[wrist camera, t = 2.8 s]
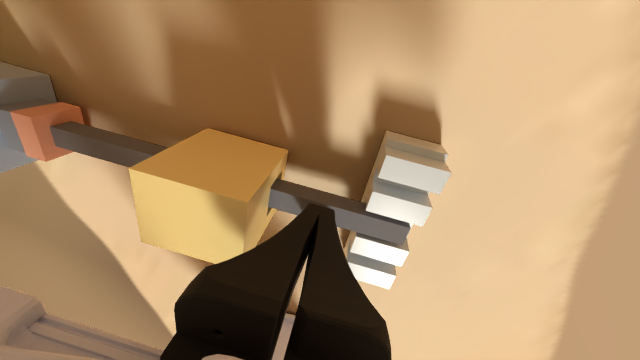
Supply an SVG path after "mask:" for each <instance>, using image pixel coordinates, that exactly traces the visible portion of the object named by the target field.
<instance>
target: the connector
mask: <svg viewBox="0 0 640 360" xmlns="http://www.w3.org/2000/svg"><path fill="white" fill-rule="evenodd" d="M53 103H57V100H56V97H55V93H54V90H53V87H52V83H51V80H50V76H49V75H48V74H44V73H41V72H37V71H33V70H29V69H26V68H22V67H18V66H15V65H11V64H7V63H4V62H0V173H2V172H5V171H8V170H11V169H14V168H17V167H19V166H22V165H25V164H28V163H31V162H34V161H37V160H39V159H35V158H32V157H28V156H27V155H26V153H25V150H24V147H23V145H22V142H21V140H20V137H19V135H18V132H17V129H16V127H15V124H14V122H13V119H12V117H11V114H10V111H15V110H21V109H26V108H31V107H37V106H42V105H48V104H53Z"/></svg>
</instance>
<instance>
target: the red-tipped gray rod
mask: <svg viewBox="0 0 640 360" xmlns="http://www.w3.org/2000/svg"><path fill="white" fill-rule="evenodd" d="M10 114H11V117H12V119H13V122H14V124H15V127H16V129H17V132H18V135H19V137H20V140H21V142H22V145H23V147H24V150H25V153H26V155H27V156H28V157H32V158H35V159H39V160H42V161H49V160H52V159H55V158H58V157H60V156H63V155H66V154H69V153H72V152H78V153H81V154H85V155H88V156H92V157H95V158H99V159H102V160H106V161H109V162H113V163H116V164H120V165H123V166H127V167H132V166H134V165H136V164H138V163H140V162H142V161H144V160H146V159H148V158H150V157H152V156H154V155H156V154H158V153H160V152H162V151H164V150H166V149H167V148H166V147H163V146H159V145H156V144H152V143H148V142H145V141H141V140H138V139H134V138H131V137H127V136H123V135H120V134H116V133H113V132H109V131H106V130H102V129H98V128H95V127H91V126H88V125H84V121H83V117H82V113H81V109H80V107H79V106H75V105H71V104H68V103H64V102H59V103H53V104H48V105H42V106H37V107H31V108H26V109H21V110H15V111H10ZM309 203H313V204H316V205H320V206H323V207H327V208H330V209H334V211H335V221H336V226H337V227H340V228H344V229H347V230H351V231H354V232H358V233H361V234H365V235H368V236H372V237H375V238H379V239H382V240H386V241H389V242H393V243H396V244H400V245H403V243H404V241H405V239H406V237H407V235H408V233H409V231H410V229H411V227H410V223H408V222H404V221H401V220H397V219H393V218H390V217H386V216H383V215H379V214H376V213H372V212H369V211H366V203H363V202H359V201H356V200H352V199H349V198H345V197H342V196H338V195H334V194H331V193H327V192H324V191H320V190H317V189H313V188H309V187H306V186H302V185H299V184H295V183H292V182H288V181H284V180H281V179H276V180H275V181H274V183H273V184H272V186H271V189H270V196H269V203H268V207H270V208H274V209H277V210H281V211H284V212H288V213H291V214H295V215H299V214H300V213H301V212H302V211H303V210H304V208H305V207H306V206H307V204H309Z"/></svg>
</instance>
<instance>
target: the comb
mask: <svg viewBox="0 0 640 360" xmlns="http://www.w3.org/2000/svg"><path fill="white" fill-rule="evenodd" d="M447 157H448V153H447V152H446V151H445V149H444V148H443V146H442V145H440V144H436V143H432V142H429V141H425V140H421V139H417V138H413V137H410V136H406V135H402V134H398V133H394V132H391V131H387V130H386V133H385V135H384V138H383V141H382V144H381V147H380V149H379V152H378V155H377V158H376V160H375V163H374V166H373V169H372V172H371V174H370V177H369V180H368V183H367V186H366V188H365V191H364V194H363V197H362V200H361V202H363V203H366V211H369V212H372V213H376V214H379V215H383V216H386V217H390V218H393V219H397V220H401V221H404V222H408V223H410V227H412V226H413V224H415V225H418V226H422V227H423V225H424V223H425V221H426V219H427V218H428V216H429V214H430V212H431V210H432V205H431V202H430V200H429V197H428V194H429V192H432V193H436V194H440V193H441V191H442V190H443V188H444V186H445V184H446V182H447V180H448V178H449V177H450V175H451V171H450V169H449V168H448V166H447V165H446V163H445V161H446V159H447ZM343 252H344V254H345V257H346V259H347V262H348V264H349V266H350V268H351V270H352V273H353V275H354V277H355V278H356V280H359V281H362V282H366V283H369V284H373V285H376V286H379V287H383V288H386V289H390V287H391V285H392V283H393V281H394V279H395V277H396V271H395V265H397V266H400V267H401V266H402V264H403V262H404V261H405V259H406V257H407V255H408V253H409V248H408V243H407V238H406V239H405V241H404V243H403V245H400V244H396V243H393V242H389V241H386V240H382V239H379V238H375V237H372V236H368V235H365V234H361V233H358V232H354V231H351V230H350V233H349V236H348V239H347V242H346V244H345V247H344V250H343Z"/></svg>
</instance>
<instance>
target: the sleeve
mask: <svg viewBox="0 0 640 360" xmlns="http://www.w3.org/2000/svg"><path fill="white" fill-rule="evenodd" d="M287 156H288V150H286V149H283V148H279V147H275V146H272V145H268V144H264V143H261V142H257V141H253V140H250V139H246V138H242V137H239V136H235V135H231V134H228V133H224V132H220V131H217V130H213V129H209V128H207V129H205V130H203V131H201V132H199V133H197V134H195V135H193V136H191V137H189V138H187V139H185V140H183V141H181V142H179V143H177V144H175V145H173V146H171V147H169V148H167V149H166V150H164V151H162V152H160V153H158V154H156V155H154V156H152V157H150V158H148V159H146V160H144V161H142V162H140V163H138V164H136V165H134V166H132V167H130V168H128V169H129V175H130V180H131V186H132V192H133V197H134V203H135V209H136V214H137V220H138V225H139V231H140V237H141V242H144V243H147V244H151V245H154V246H157V247H161V248H164V249H167V250H171V251H174V252H177V253H181V254H184V255H187V256H191V257H194V258H197V259H201V260H204V261H207V262H211V263H214V264H217V263H220V262H223V261H226V260H229V259H231V258H234V257H236V256H238V255H240V254H242V253H245V252H247V251H249V250H251V249H253V248H255V247H256V245H257V243H258V242H259V240H260V238H261V236H262V235H263V233H264V231H265V229H266V228H267V226H268V224H269V222H270V220H271V219H272V217H273V215H274V213H275V212H276V210H277V209H274V208H270V207H268V203H269V196H270V189H271V186H272V184H273V183H274V181H275V180H276V179H281V180H284V174H285V168H286V162H287Z"/></svg>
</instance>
